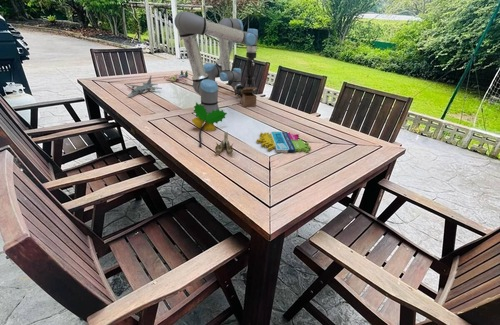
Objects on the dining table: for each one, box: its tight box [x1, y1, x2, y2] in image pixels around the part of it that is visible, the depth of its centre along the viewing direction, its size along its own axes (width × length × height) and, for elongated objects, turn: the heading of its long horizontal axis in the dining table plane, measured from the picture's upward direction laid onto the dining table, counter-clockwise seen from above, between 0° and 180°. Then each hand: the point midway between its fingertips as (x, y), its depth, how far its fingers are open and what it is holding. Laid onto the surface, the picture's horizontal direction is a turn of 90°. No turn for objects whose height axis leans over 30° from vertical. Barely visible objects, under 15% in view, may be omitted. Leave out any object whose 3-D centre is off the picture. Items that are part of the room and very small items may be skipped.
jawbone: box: [214, 131, 234, 156], centre depth 136 cm, size 9×15×10 cm
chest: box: [239, 92, 257, 108], centre depth 213 cm, size 13×9×9 cm
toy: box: [163, 70, 189, 83], centre depth 276 cm, size 28×7×30 cm
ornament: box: [191, 102, 228, 132], centre depth 162 cm, size 21×8×15 cm, turn 105°
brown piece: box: [241, 77, 258, 92], centre depth 208 cm, size 14×9×9 cm
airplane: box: [127, 75, 162, 98], centre depth 225 cm, size 38×32×10 cm
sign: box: [256, 131, 312, 154], centre depth 152 cm, size 26×2×30 cm
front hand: (249, 84), depth 205 cm, fingers closed on brown piece, 2 cm apart
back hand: (247, 95), depth 213 cm, fingers closed on chest, 9 cm apart
